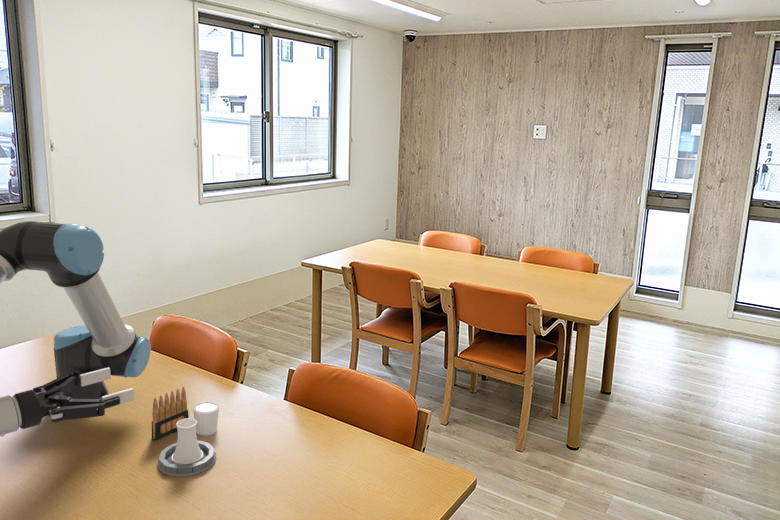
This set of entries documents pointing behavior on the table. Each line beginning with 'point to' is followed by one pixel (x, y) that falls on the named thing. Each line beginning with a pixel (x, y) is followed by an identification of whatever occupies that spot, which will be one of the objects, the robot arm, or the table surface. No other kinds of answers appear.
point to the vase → (187, 444)
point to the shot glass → (206, 417)
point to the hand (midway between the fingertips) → (121, 383)
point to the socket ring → (186, 470)
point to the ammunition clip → (168, 414)
